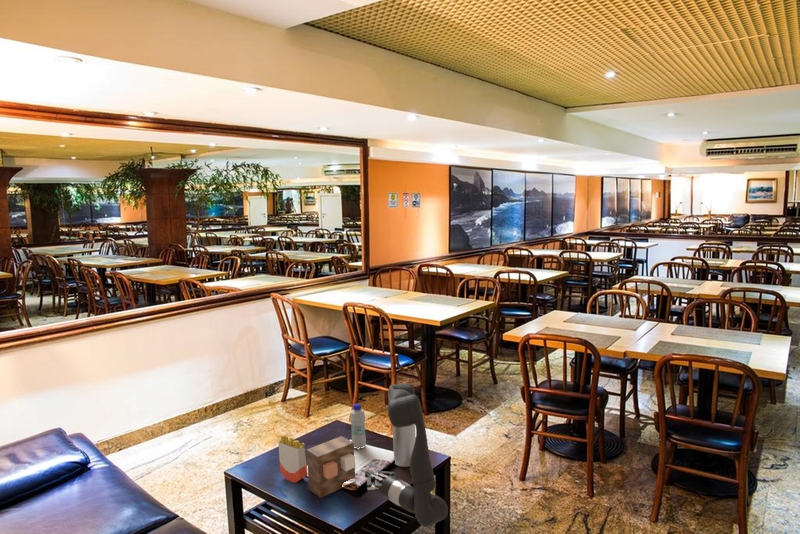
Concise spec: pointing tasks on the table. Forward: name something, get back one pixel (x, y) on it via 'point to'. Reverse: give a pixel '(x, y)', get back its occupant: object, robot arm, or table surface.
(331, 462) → the terracotta key
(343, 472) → the key panel
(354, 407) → the bottle
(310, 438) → the table surface
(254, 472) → the table surface
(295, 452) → the french fries container
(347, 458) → the ivory key
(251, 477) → the table surface
